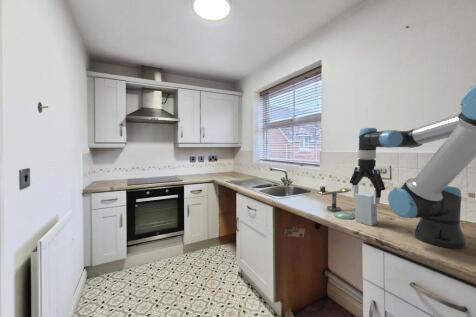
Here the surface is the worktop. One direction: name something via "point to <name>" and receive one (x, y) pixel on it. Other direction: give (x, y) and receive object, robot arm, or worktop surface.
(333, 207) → the post
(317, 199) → the worktop surface
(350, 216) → the dish green
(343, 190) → the balance beam
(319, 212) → the worktop surface
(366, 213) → the skincare box
